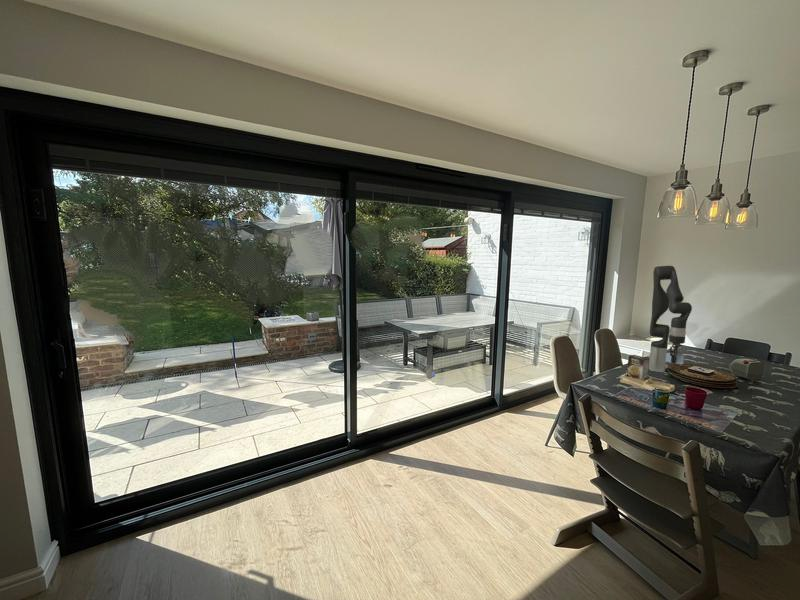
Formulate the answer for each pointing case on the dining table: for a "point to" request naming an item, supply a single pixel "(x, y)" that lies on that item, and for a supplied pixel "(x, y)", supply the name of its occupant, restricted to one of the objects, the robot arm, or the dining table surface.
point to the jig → (647, 383)
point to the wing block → (678, 359)
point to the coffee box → (637, 367)
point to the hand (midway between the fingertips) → (674, 361)
